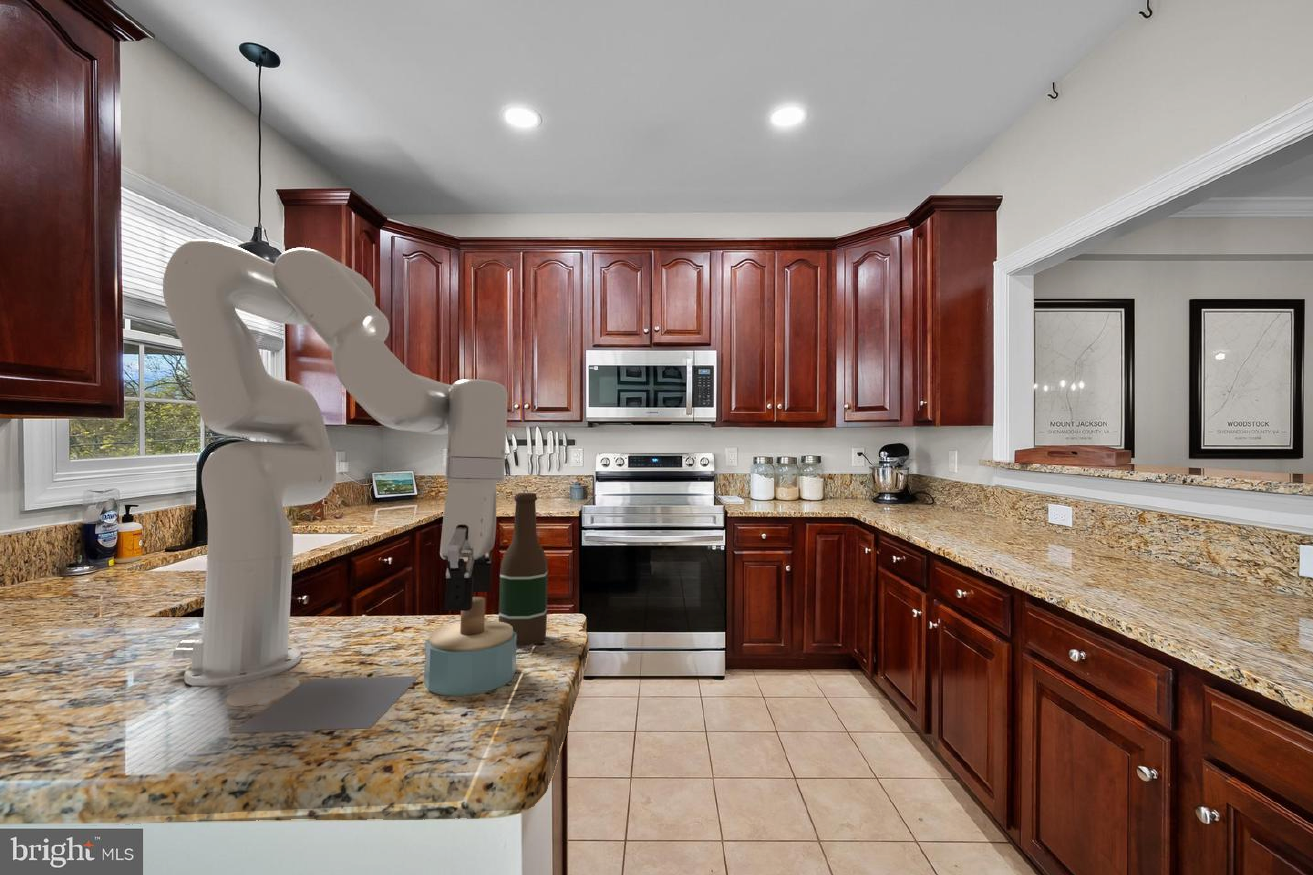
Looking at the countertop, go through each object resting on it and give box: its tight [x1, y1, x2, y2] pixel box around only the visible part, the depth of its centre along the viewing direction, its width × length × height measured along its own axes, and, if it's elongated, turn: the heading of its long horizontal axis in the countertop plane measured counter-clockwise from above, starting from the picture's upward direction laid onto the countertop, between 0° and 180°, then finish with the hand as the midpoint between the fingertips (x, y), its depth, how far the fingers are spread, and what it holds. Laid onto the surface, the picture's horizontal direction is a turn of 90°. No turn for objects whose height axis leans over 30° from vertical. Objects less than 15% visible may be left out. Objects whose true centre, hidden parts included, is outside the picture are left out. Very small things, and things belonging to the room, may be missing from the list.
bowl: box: [423, 631, 517, 697], centre depth 69 cm, size 11×11×6 cm
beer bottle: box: [498, 492, 549, 647], centre depth 86 cm, size 8×8×24 cm
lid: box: [429, 596, 513, 651], centre depth 69 cm, size 10×10×5 cm
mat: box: [229, 675, 420, 734], centre depth 61 cm, size 14×14×1 cm
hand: (469, 600), depth 69 cm, fingers open, 9 cm apart
